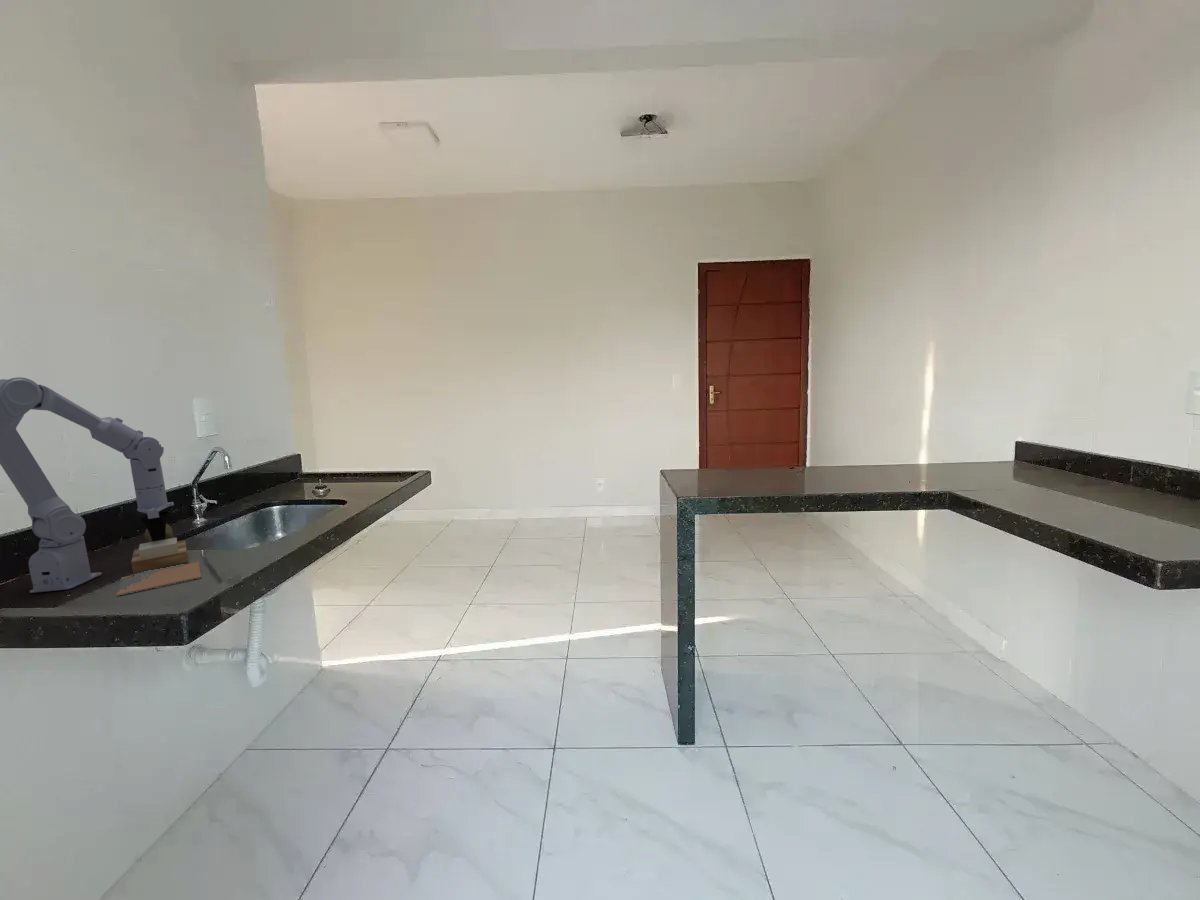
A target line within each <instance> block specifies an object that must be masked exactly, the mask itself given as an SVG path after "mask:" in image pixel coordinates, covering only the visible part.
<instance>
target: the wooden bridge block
mask: <svg viewBox="0 0 1200 900" xmlns="http://www.w3.org/2000/svg"><path fill="white" fill-rule="evenodd" d="M177 543H178V552H174V553H168V554H163V555H158V556H153V557H148V558H142V559H140V556H139V548H135V549H133V553H132V557H131V562H130V564H131V570H132V575H133V574H137V573H141V572H144V571H148V570H154V569H160V568H166V567H170V566H176V565H180V564H187V563H188V564H189V557H188V549H187V542H186V539H183V540H179V541H178V540H177Z"/></svg>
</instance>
